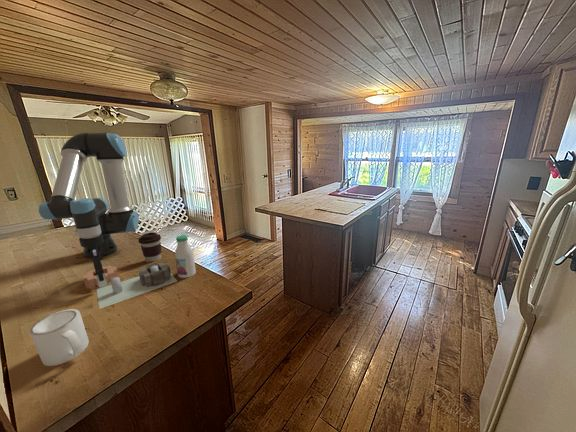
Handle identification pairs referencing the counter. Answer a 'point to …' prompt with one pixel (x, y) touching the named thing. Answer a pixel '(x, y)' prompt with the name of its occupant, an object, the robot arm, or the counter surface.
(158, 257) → the coffee cup
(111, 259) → the counter surface
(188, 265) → the milk bottle
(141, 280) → the gear
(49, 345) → the mug
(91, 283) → the gear
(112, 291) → the board
